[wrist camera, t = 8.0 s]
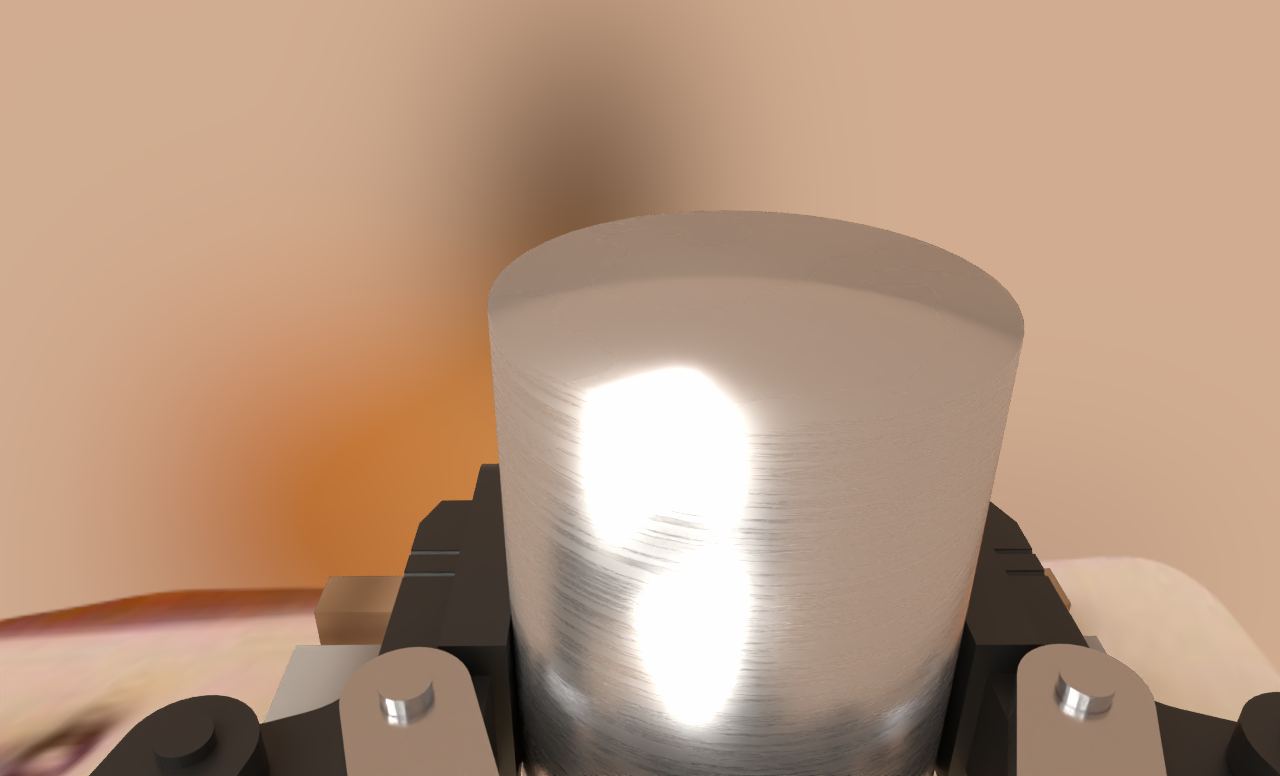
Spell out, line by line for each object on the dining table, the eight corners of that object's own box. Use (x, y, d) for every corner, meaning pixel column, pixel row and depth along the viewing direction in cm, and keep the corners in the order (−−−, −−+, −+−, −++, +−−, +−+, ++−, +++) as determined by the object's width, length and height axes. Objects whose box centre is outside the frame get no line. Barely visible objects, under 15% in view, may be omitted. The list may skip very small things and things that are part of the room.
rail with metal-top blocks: (231, 934, 28) (207, 857, 26) (341, 637, 38) (328, 570, 37) (1189, 920, 28) (1221, 843, 26) (1035, 629, 39) (1051, 562, 37)
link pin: (530, 1234, 13) (447, 423, 7) (554, 889, 17) (514, 209, 11) (904, 1230, 13) (1123, 421, 7) (835, 888, 17) (937, 210, 11)
